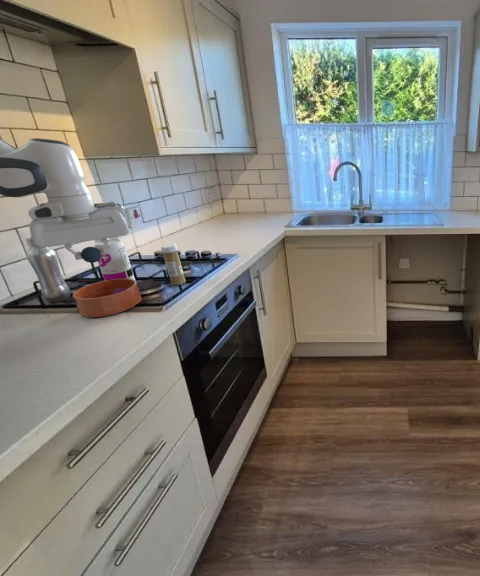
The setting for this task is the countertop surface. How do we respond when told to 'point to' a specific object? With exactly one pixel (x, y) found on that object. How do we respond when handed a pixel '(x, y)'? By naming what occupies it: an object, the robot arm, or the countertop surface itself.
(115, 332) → the countertop surface
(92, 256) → the slate ball
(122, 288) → the plum ball
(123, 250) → the supplement can
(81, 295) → the bowl
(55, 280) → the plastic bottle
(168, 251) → the sprinkles bottle
